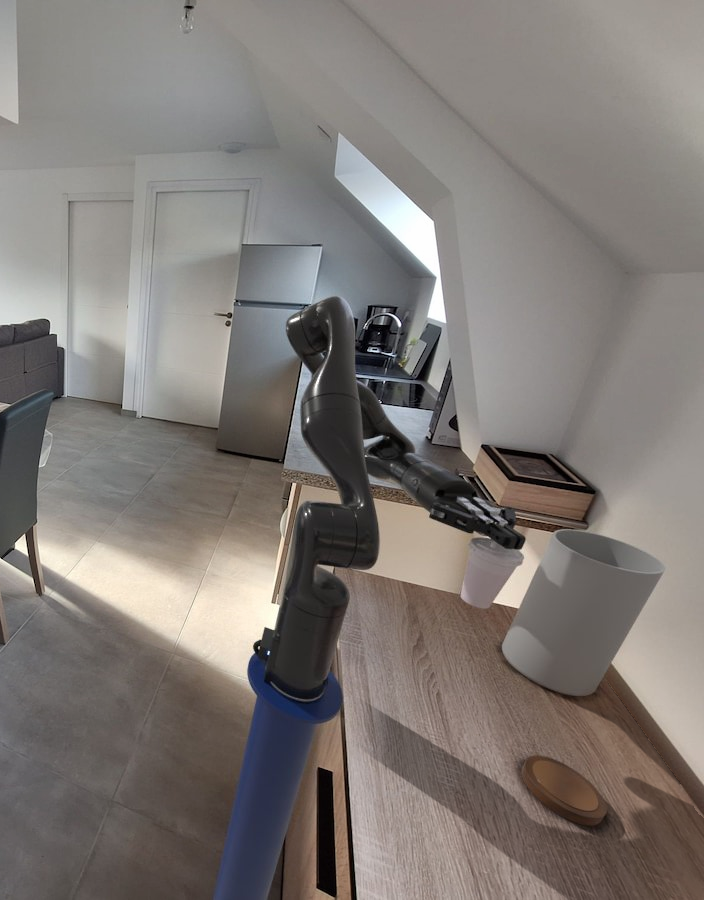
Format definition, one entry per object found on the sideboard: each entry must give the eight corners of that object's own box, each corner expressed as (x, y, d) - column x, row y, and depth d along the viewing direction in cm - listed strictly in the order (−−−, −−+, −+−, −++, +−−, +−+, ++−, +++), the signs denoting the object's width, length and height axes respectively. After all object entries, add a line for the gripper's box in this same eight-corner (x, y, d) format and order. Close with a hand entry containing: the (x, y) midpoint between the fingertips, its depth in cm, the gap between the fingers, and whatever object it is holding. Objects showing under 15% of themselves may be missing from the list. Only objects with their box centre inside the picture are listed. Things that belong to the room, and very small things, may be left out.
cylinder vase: (492, 633, 89) (541, 522, 80) (576, 658, 84) (639, 542, 75) (511, 679, 78) (569, 557, 69) (608, 711, 73) (685, 583, 64)
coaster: (531, 805, 59) (536, 797, 59) (513, 752, 66) (517, 745, 65) (614, 838, 56) (620, 830, 55) (586, 779, 63) (591, 772, 62)
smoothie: (447, 582, 75) (475, 508, 70) (495, 595, 72) (528, 519, 67) (454, 605, 70) (485, 527, 64) (506, 620, 67) (543, 539, 62)
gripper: (467, 510, 81) (554, 568, 65) (392, 506, 81) (460, 563, 65) (482, 472, 78) (576, 523, 62) (404, 468, 78) (478, 518, 62)
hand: (516, 543), depth 64 cm, fingers closed on smoothie, 1 cm apart
